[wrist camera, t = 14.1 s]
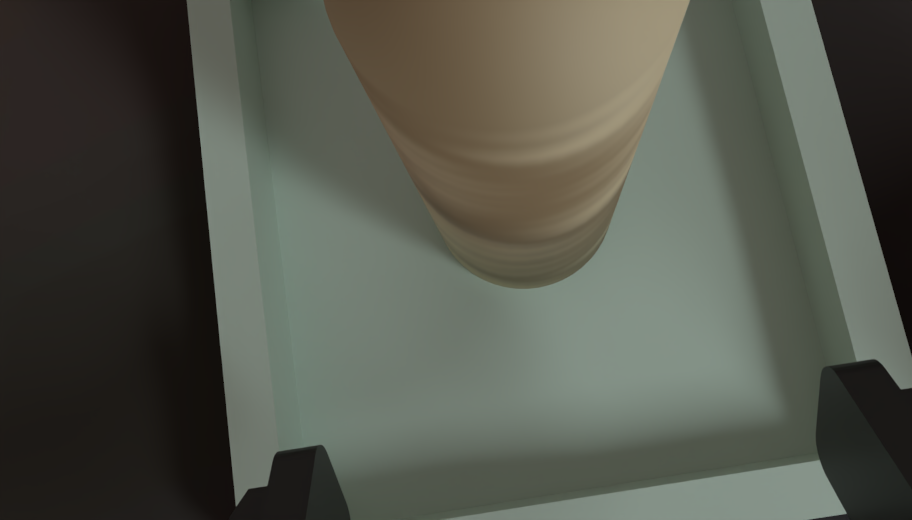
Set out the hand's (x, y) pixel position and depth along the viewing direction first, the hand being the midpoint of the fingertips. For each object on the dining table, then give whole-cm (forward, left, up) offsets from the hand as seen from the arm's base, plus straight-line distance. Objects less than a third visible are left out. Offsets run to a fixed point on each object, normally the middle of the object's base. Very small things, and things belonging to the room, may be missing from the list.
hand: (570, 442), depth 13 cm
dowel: (0, -6, -8) cm, 10 cm away
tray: (0, -6, -9) cm, 11 cm away
